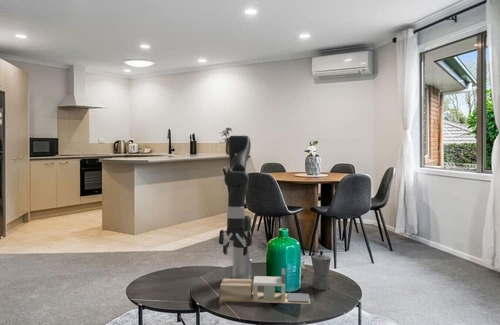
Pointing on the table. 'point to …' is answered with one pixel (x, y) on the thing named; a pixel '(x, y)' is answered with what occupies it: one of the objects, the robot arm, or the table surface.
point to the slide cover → (270, 280)
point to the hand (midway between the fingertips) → (235, 254)
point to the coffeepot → (320, 271)
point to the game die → (302, 269)
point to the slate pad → (297, 297)
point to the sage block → (269, 292)
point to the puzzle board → (261, 297)
